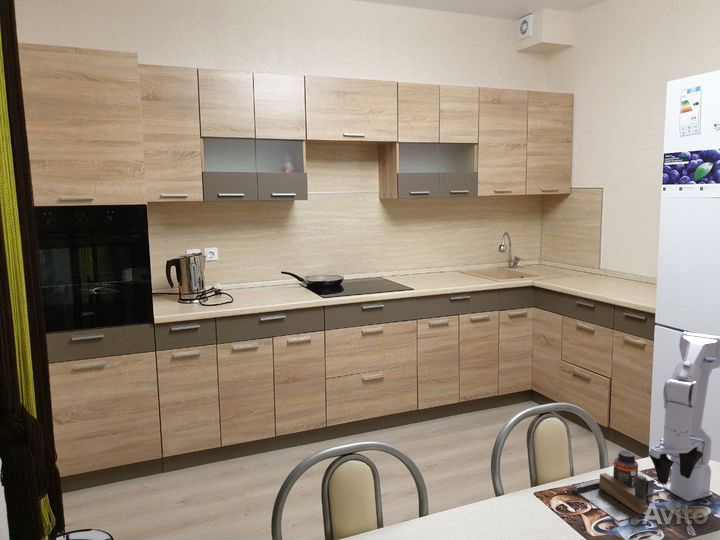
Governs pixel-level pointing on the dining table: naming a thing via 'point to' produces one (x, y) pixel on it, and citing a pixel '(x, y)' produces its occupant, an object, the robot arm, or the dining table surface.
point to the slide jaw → (626, 491)
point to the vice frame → (611, 498)
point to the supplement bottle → (626, 468)
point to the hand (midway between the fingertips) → (673, 479)
